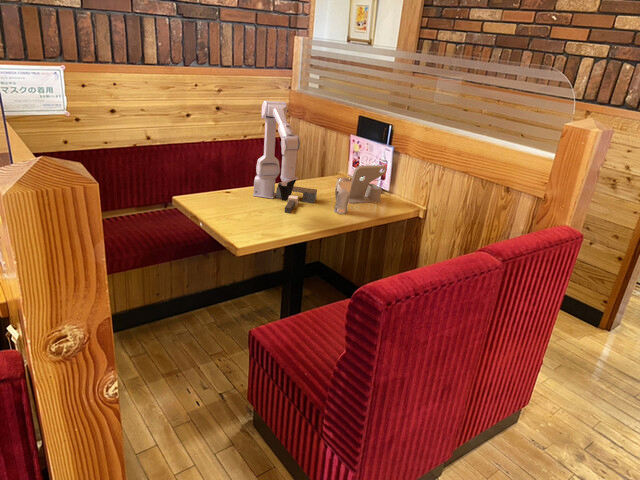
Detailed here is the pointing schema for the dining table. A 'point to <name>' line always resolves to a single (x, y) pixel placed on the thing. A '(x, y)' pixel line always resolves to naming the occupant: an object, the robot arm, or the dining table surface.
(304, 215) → the dining table surface
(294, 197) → the plug
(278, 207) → the dining table surface
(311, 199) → the block
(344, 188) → the beer glass
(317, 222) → the dining table surface
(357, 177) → the phone holder
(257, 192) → the robot arm
